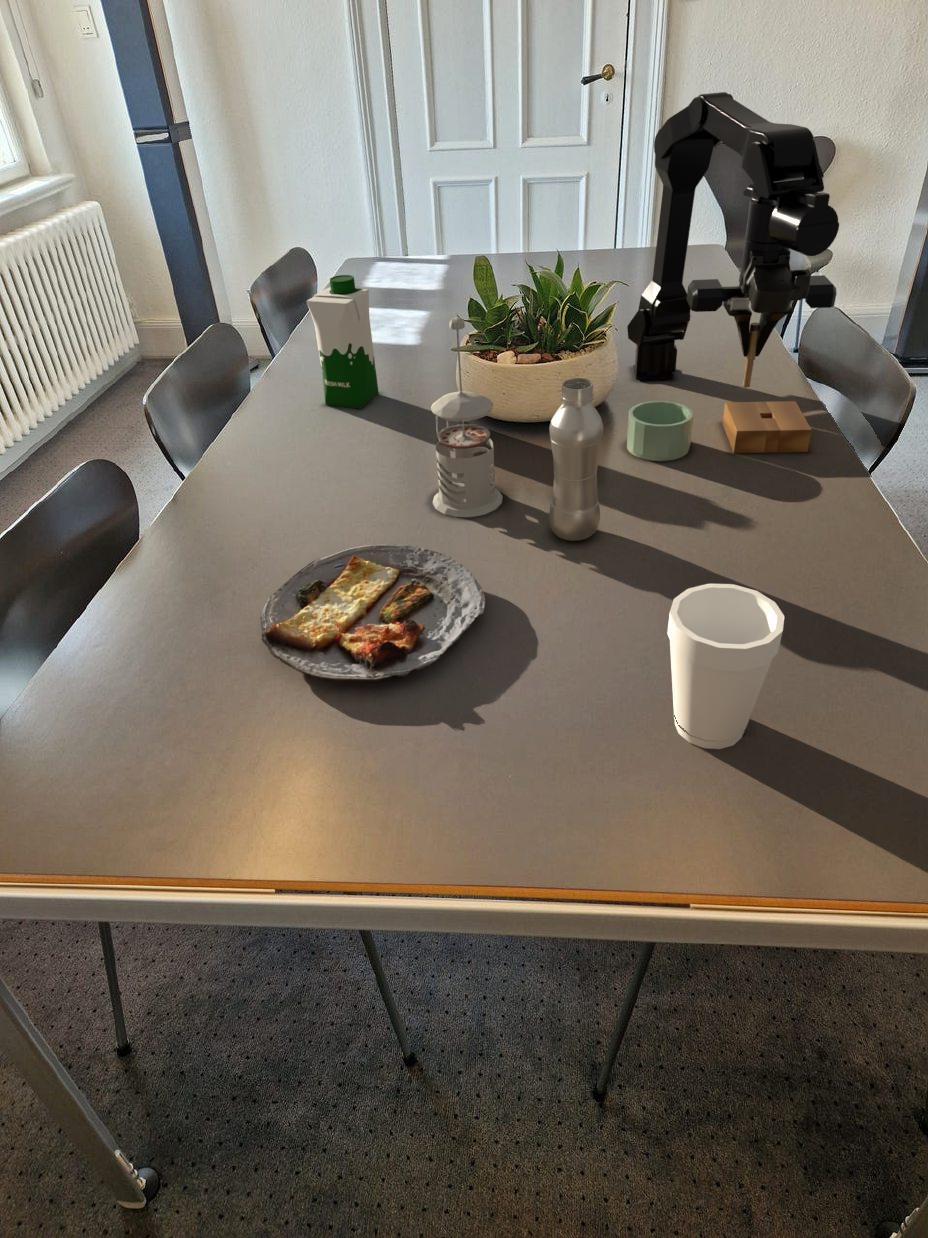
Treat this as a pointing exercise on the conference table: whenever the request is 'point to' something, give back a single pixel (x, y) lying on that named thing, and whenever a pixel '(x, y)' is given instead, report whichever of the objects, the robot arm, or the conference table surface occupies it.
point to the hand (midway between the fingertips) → (750, 355)
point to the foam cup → (720, 659)
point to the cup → (659, 430)
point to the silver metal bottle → (575, 462)
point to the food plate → (370, 613)
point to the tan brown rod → (751, 352)
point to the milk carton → (345, 343)
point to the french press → (464, 452)
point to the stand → (766, 427)
